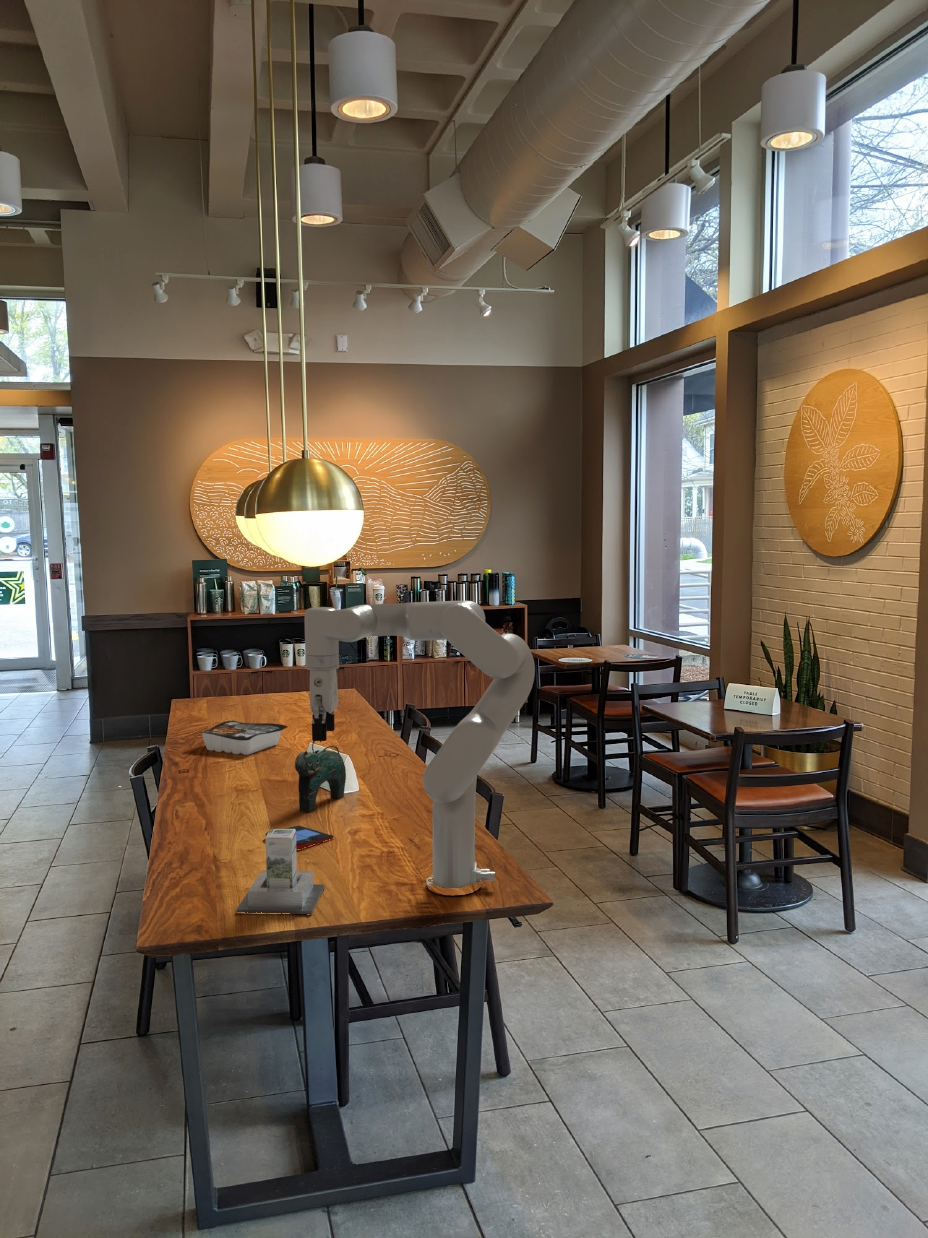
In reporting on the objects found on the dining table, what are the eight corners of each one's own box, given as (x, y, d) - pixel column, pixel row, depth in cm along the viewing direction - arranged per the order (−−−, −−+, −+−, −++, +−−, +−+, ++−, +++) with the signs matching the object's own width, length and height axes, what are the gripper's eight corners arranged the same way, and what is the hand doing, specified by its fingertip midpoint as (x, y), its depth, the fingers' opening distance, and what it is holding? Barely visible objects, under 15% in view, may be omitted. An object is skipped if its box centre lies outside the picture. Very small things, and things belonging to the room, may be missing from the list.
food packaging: (193, 731, 333) (234, 718, 354) (194, 751, 334) (234, 738, 355) (249, 737, 323) (288, 724, 343) (250, 758, 324) (288, 744, 344)
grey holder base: (324, 889, 208) (324, 869, 208) (311, 915, 194) (311, 894, 194) (253, 888, 209) (253, 868, 208) (236, 914, 195) (235, 893, 194)
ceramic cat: (308, 815, 260) (306, 745, 258) (290, 811, 264) (288, 743, 261) (350, 797, 278) (349, 731, 276) (332, 794, 281) (331, 729, 279)
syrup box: (297, 891, 204) (296, 827, 203) (293, 902, 198) (291, 836, 197) (271, 891, 204) (270, 827, 203) (266, 902, 198) (264, 836, 197)
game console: (335, 840, 241) (335, 832, 241) (297, 854, 231) (297, 845, 231) (299, 829, 250) (299, 820, 250) (261, 841, 241) (261, 833, 240)
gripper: (331, 667, 201) (333, 745, 203) (345, 656, 219) (346, 727, 220) (297, 667, 202) (299, 744, 204) (313, 656, 219) (314, 727, 221)
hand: (323, 735), depth 212 cm, fingers open, 9 cm apart
